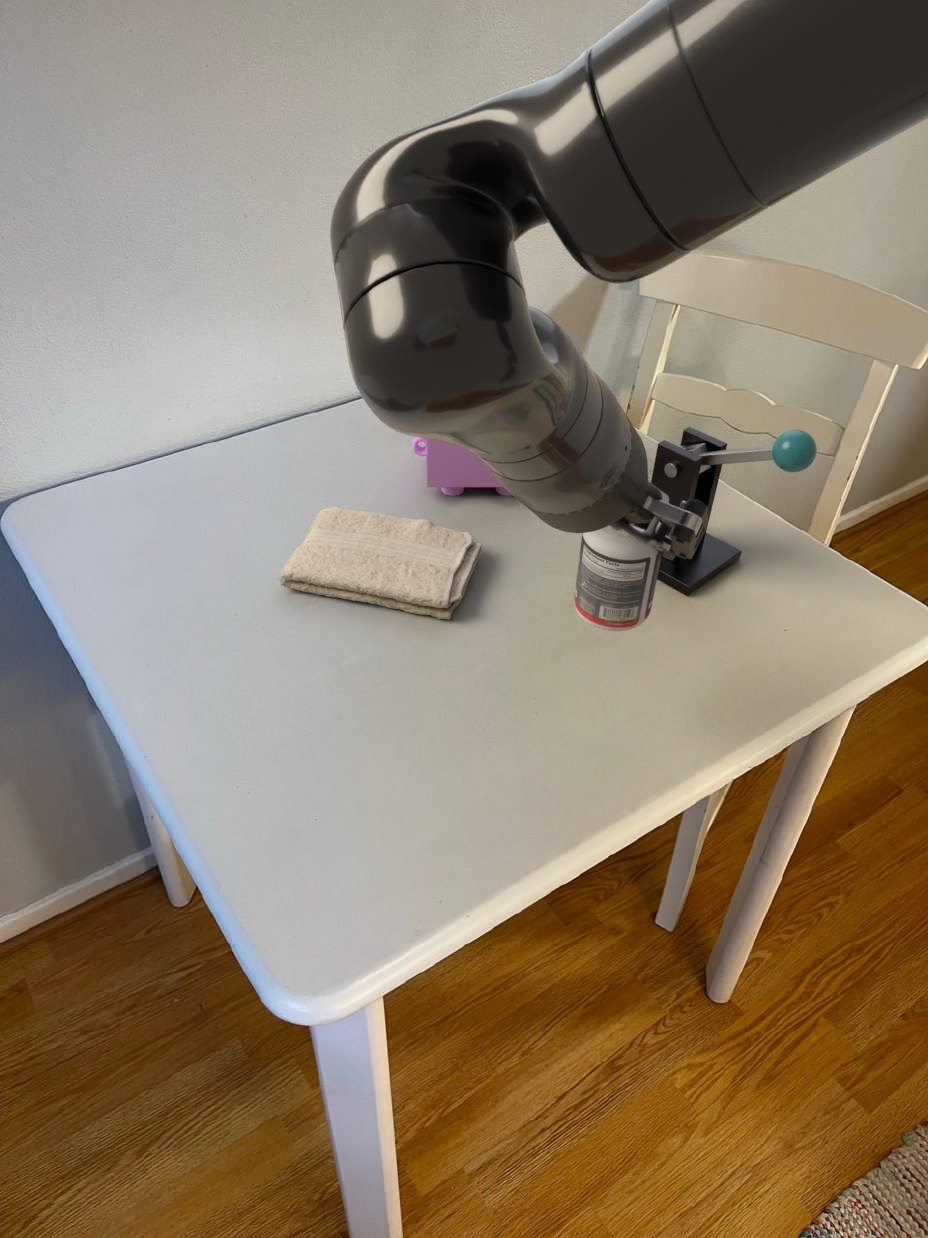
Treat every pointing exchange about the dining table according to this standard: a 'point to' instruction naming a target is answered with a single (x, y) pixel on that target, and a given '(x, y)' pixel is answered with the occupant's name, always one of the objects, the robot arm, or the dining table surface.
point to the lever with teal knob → (764, 452)
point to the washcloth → (383, 561)
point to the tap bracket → (682, 483)
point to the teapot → (454, 467)
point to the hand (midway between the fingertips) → (634, 529)
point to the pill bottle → (615, 580)
